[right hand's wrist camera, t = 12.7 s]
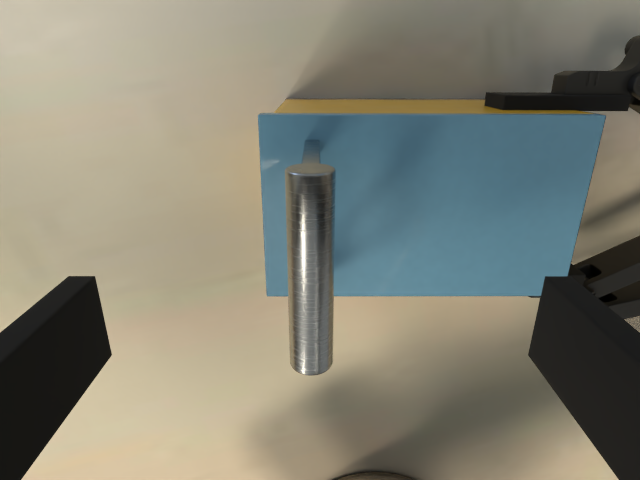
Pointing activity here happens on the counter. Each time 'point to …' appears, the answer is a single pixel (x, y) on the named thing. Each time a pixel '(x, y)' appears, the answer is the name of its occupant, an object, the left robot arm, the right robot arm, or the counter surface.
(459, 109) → the chest
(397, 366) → the counter surface
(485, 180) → the lid
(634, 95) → the left robot arm
